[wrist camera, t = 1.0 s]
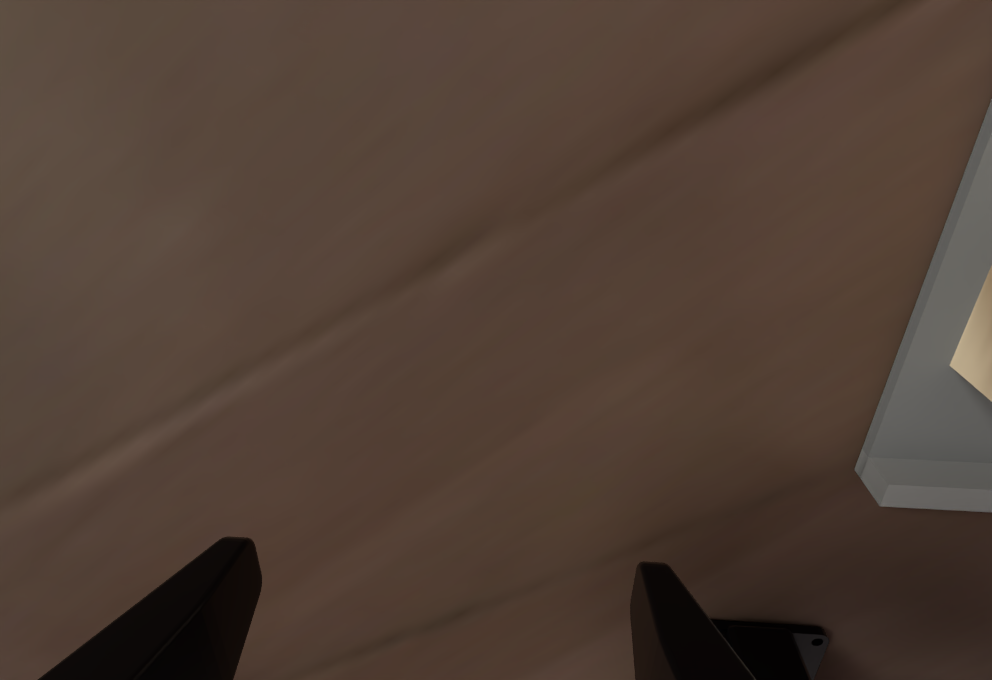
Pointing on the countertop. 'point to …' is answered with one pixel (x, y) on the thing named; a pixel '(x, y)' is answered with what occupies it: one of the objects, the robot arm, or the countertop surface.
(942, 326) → the mat
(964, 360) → the wooden block
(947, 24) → the countertop surface
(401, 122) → the countertop surface
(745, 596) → the countertop surface
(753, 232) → the countertop surface
